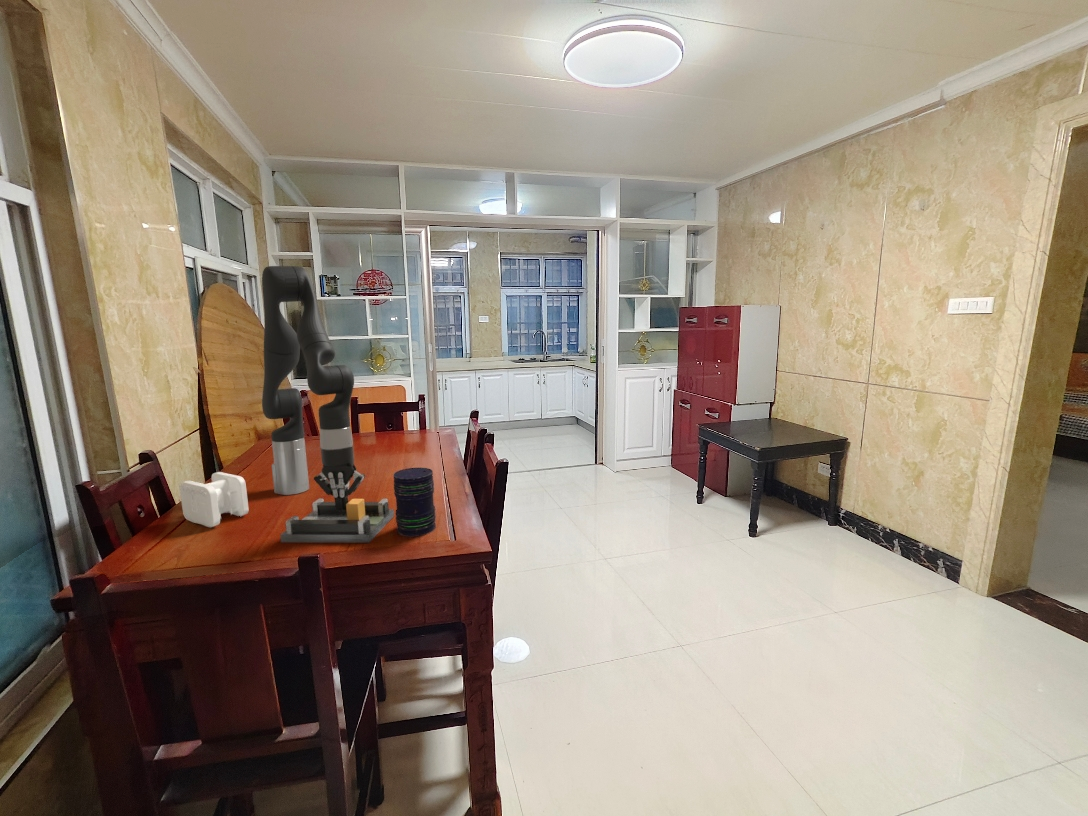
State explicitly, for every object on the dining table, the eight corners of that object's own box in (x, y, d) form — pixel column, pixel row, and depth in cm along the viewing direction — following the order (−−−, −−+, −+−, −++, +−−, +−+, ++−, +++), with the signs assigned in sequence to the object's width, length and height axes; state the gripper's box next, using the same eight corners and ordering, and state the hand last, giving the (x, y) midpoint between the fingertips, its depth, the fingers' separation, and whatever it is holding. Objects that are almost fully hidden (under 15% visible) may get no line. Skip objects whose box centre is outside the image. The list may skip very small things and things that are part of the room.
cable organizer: (252, 517, 135) (247, 477, 133) (212, 531, 126) (206, 488, 124) (221, 508, 142) (216, 470, 140) (181, 521, 133) (175, 481, 131)
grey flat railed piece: (281, 542, 118) (278, 522, 117) (316, 515, 135) (315, 498, 134) (369, 542, 117) (367, 522, 116) (394, 515, 134) (392, 498, 133)
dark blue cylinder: (399, 539, 118) (395, 480, 116) (394, 525, 127) (390, 470, 125) (439, 532, 122) (436, 475, 120) (432, 518, 131) (429, 465, 129)
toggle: (344, 523, 123) (342, 504, 122) (352, 517, 128) (350, 498, 127) (361, 523, 123) (359, 504, 122) (368, 517, 127) (367, 498, 127)
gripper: (303, 448, 119) (309, 515, 121) (355, 448, 118) (361, 515, 121) (318, 441, 126) (324, 504, 129) (368, 441, 125) (373, 505, 128)
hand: (342, 509), depth 125 cm, fingers closed
